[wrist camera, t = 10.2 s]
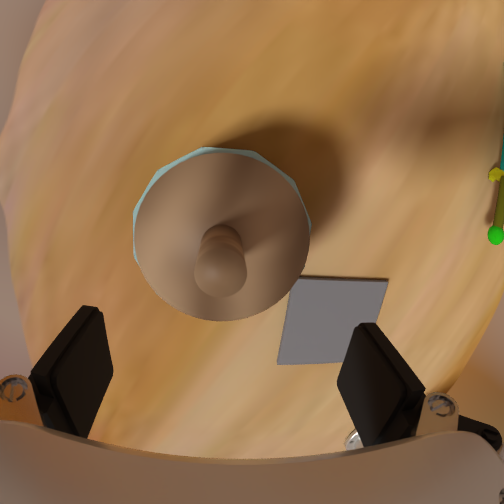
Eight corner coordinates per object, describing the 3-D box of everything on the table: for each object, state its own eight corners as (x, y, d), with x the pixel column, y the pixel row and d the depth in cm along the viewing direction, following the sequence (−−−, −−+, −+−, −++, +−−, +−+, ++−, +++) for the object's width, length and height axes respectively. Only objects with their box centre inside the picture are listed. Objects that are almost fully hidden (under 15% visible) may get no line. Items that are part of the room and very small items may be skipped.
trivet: (385, 280, 33) (388, 282, 32) (360, 358, 37) (361, 360, 36) (292, 276, 31) (293, 278, 31) (276, 361, 35) (277, 364, 35)
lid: (316, 163, 20) (351, 169, 14) (292, 317, 24) (310, 364, 18) (140, 149, 18) (107, 149, 13) (141, 308, 22) (121, 354, 17)
